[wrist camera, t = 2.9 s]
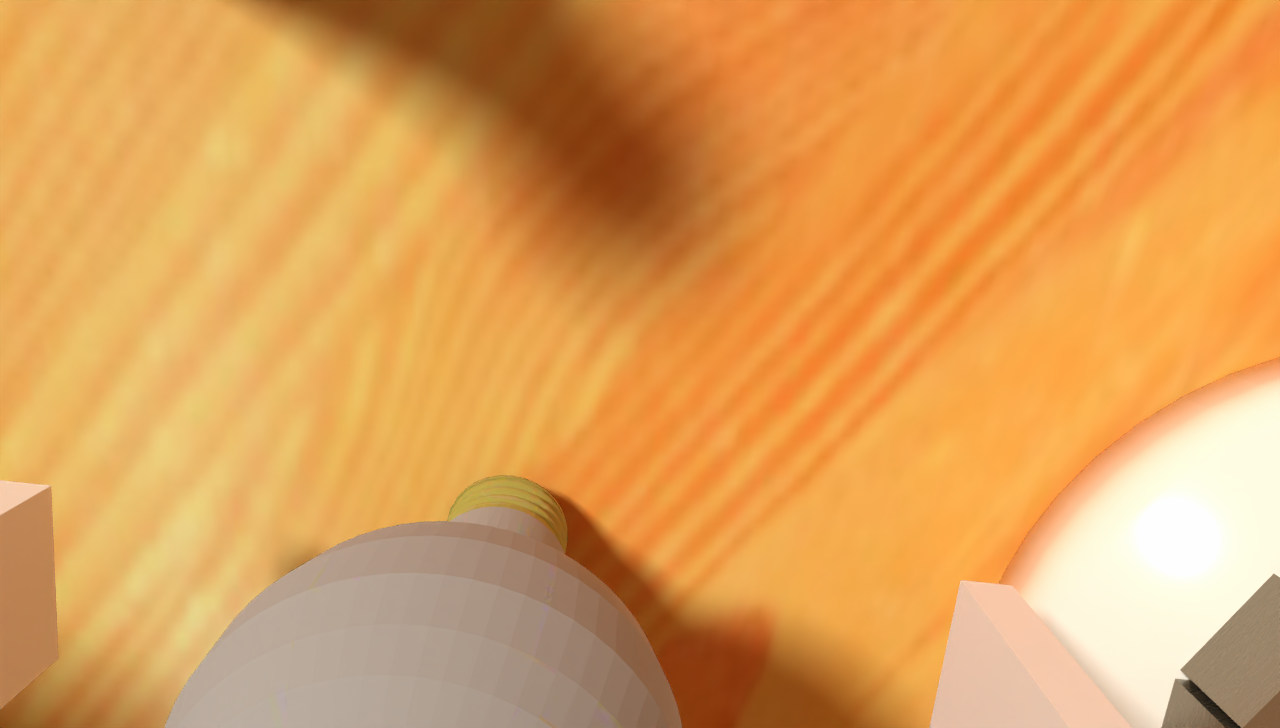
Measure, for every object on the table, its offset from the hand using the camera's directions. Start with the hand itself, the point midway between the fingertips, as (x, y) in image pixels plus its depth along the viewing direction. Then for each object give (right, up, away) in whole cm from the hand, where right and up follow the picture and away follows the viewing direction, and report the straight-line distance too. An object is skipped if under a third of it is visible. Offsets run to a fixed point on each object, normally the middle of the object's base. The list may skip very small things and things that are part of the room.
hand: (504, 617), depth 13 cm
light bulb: (0, +1, +4) cm, 4 cm away
